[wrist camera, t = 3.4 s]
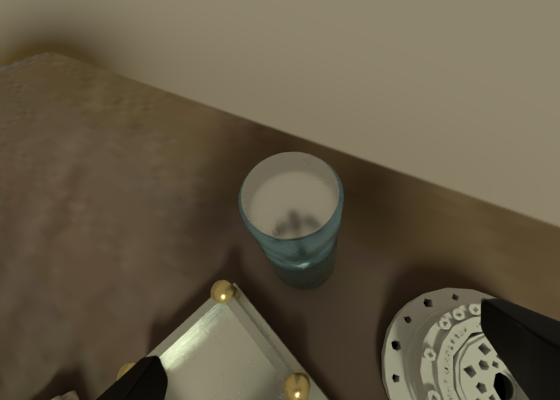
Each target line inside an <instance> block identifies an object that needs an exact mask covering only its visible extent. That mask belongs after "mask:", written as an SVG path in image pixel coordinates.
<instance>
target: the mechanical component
mask: <svg viewBox="0 0 560 400" xmlns="http://www.w3.org/2000/svg"><path fill="white" fill-rule="evenodd" d="M492 298H496V297H493V296H490V295H487V294H484V293H482V292H479V291H476V290H473V289H458V288H444V289H440V290H436V291H432V292H428V293H424V294H422V295H420V296H419V297H417V298H415V299H413V300H412V301H410V302H408V303H407V304H405V305H404V306H403V307H402V308H401V309H400V310H399V311H398V312H397V313H396V315H395V316H394V318H393V320H392V321H391V323H390V325H389V326H388V328H387V330H386V335H385V339H384V343H383V348H382V352H381V358H382V381H383V384H384V387H385V390H386V393H387V396H388V399H389V400H500V398H499V396H498V394H497V392H496V391H495V381H494V379H495V374H497V373H499V372H500V373H501V376H502V379H503V382H504V386H505V400H529V399H528V397H527V396H526V395H525V393H524V392H523V390H522V389H521V388H520V386H519V385H518V383H517V382H516V381H515V379H514V378H513V376H512V375H511V373H510V372H509V370H508V369H507V367H506V366H505V364H504V363H503V362H502V360H501V359H500V357H499V356H498V354H497V353H496V351H495V350H494V348H493V347H492V345H491V344H490V343H489V341H488V340H487V338H486V337H485V335H484V334H483V332H482V329H481V324H480V319H481V302H482V301H483V300H486V299H492ZM424 301H425V302H426V303H427V307H426V306H425V305H424V303H423V302H424ZM404 318H405V319H407V321H405V319H404ZM473 332H474V333H473ZM393 341H395V342H396V344H397V347H396V350H394V349H393V348H392V344H391V343H392V342H393ZM393 374H395V375H396V376H395V379H394V380H393V379H392V376H393Z"/></svg>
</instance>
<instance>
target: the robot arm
mask: <svg viewBox="0 0 560 400" xmlns="http://www.w3.org/2000/svg"><path fill="white" fill-rule="evenodd" d="M480 324H481V329H482V332H483V334H484V335H485V337H486V338H487V340H488V341H489V343H490V344H491V345H492V347H493V348H494V350H495V351H496V353H497V354H498V356H499V357H500V359H501V360H502V362H503V363H504V364H505V366H506V367H507V369H508V370H509V372H510V373H511V375H512V376H513V378H514V379H515V381H516V382H517V383H518V385H519V386H520V388H521V389H522V390H523V392H524V393H525V395H526V396H527V397H528V399H529V400H560V321H557V320H555V319H552V318H550V317H547V316H545V315H542V314H539V313H537V312H534V311H532V310H529V309H527V308H524V307H522V306H519V305H517V304H514V303H512V302H509V301H507V300H504V299H501V298H492V299H486V300H483V301H482V302H481V319H480ZM167 386H168V377H167V374H166V372H165V369H164V367H163V364H162V362H161V360H160V358H159V357H158V356H156V355H154V356H148V357H144V358H142V359H140V360H139V361H138V362H137V363H136V364H135V365H134V366H133V367H131V368H130V369H129V370H128V371H127V372H126V373H125V374H124V375H123V376H122V377H120V378H119V379H118V380H117V381H116V382H115V383H114V384H113V385H112V386H111V387H110V388H108V389H107V390H106V391H105V392H104V393H103V394H102V395H101V396H100V397H99V398H97V399H96V400H165V395H166V391H167Z"/></svg>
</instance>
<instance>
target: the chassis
mask: <svg viewBox="0 0 560 400" xmlns="http://www.w3.org/2000/svg"><path fill="white" fill-rule="evenodd" d="M154 355H156V356H158V357H159V358H160V360H161V362H162V364H163V367H164V369H165V372H166V374H167V377H168V386H167V391H166V395H165V400H330V399H329V398H328V396H327V395H326V394H325V393H324V391H323V390H322V389H321V388H320V386H319V385H318V384H317V383H316V381H315V380H314V379H313V378H312V376H311V375H310V374H309V373H308V372H307V370H306V369H305V368H304V367H303V365H302V364H301V363H300V362H299V360H298V359H297V358H296V357H295V355H294V354H293V353H292V352H291V350H290V349H289V348H288V347H287V345H286V344H285V343H284V342H283V340H282V339H281V338H280V337H279V336H278V334H277V333H276V332H275V331H274V329H273V328H272V327H271V326H270V324H269V323H268V322H267V321H266V319H265V318H264V317H263V316H262V314H261V313H260V312H259V311H258V309H257V308H256V307H255V306H254V304H253V303H252V302H251V301H250V299H249V298H248V297H247V296H246V295H245V293H244V292H243V291H242V290H241V288H240V287H239V286H238V285H237V284H235V283H234V284H231V283H229V282H228V281H226V280H219V281H217V282H215V283H214V285H213V286H212V288H211V298H210V299H209V300H207V301H206V302H205V303H204V304H203V305H202V306H201V307H200V308H199V309H198V310H197V311H195V312H194V313H193V314H192V315H191V316H190V317H189V318H188V319H187V320H186V321H185V322H183V323H182V324H181V325H180V326H179V327H178V328H177V329H176V330H175V331H174V332H173V333H171V334H170V335H169V336H168V337H167V338H166V339H165V340H164V341H163V342H162V343H161V344H159V345H158V346H157V347H156V348H155V349H154V350H153V351H152V352H151V353H150V354H149V355H147V356H146V357H148V356H154ZM136 363H137V362H132V363H127V364H125V365H124V366H123V367H122V368H121V369H120V371H119V372H118V375H117V380H118V379H119V378H120V377H122V376H123V375H124V374H125V373H126V372H127V371H128V370H129V369H130V368H131V367H133V366H134V365H135V364H136Z"/></svg>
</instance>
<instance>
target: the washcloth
mask: <svg viewBox="0 0 560 400" xmlns="http://www.w3.org/2000/svg"><path fill="white" fill-rule="evenodd" d="M51 400H79V397H78V396H77V393H76V391H70V392H68V393H66V394H64V395H62V396H56V397H55V398H53V399H51Z"/></svg>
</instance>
